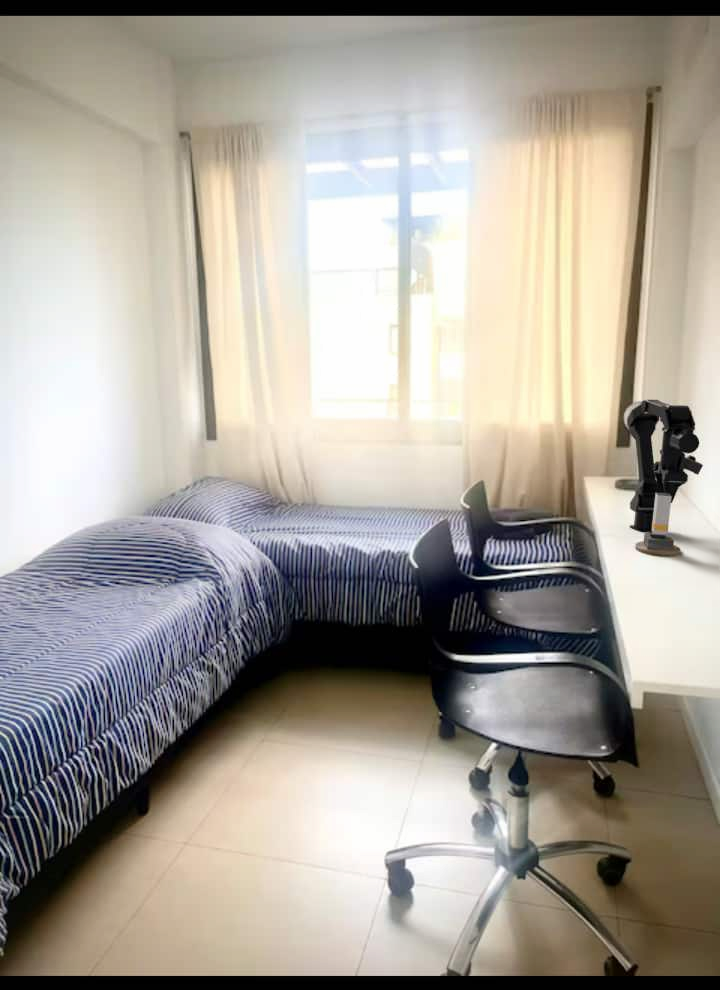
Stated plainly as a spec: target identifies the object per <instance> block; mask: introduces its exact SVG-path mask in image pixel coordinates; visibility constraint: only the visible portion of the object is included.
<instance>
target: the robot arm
mask: <svg viewBox="0 0 720 990" xmlns="http://www.w3.org/2000/svg"><path fill="white" fill-rule="evenodd" d="M658 422H661V423H662V425H663V427H662V428H661V430H662V431H663V433H662V442H661V443H662V445H661V449H659V454H660V461H659V460H657V461H655V462H654V451H653V450H654V449H653V442H652V441H653V440H652V436H653V434H654V433H655V431H656V429H657V428H656V427H657V424H658ZM626 425H627V427H628V432H629V435H630V436H631V437H632V438H633V440H634V441H635V449H636V457H637V458H636V459H637V460H636V461H637V468H638V477H639V478H638V479H639V483H638V484H637V487H636V489H634V490H635V491H634V496H633V497H632V499H631V501H630V502H629V510H631V511H633V512H634V513H635V514H634V521H633V522H634V523H633V524H630V525H629V528H631V529H633V530H636V531H638V532H640V533H641V532H642V533H649V532H652V521H653V513H654V503H655V494H656V493H669V494H670V495H671V496H672V497H671V504H673V501H674V500H675V497H676V494H677V492H678V490H679V488H680V487H682V486H683V485H685V484H686V483H688V478H689V475H688V474H687V472H686V471H689V472H691V473H693V474H695V475H699V474H700V473H701V470H702V469H703V466H704V465H703V464H702V463H700V462H699V461H697V459H696V457H695V456H693V455H690V454H692V453H695V452H696V451H697V449H698V448H699V445H700V439H699V437H698V436H697V435H696V434H695V433H694V431H695V430H696V427H695V426H696V422H695V419H694V417H693V413H692V410H691V409H690V406H689V405H686V404H685V405H675V404H674V405H672V404H668V403H664V401H661V400H658V399H644V400H642V401H641V402H640V404H639V405H637V406H636V407H634V408H633V409H632V410H631V411H630V413H629V414H628V416H627V419H626ZM686 454H689V455H688V456H687V457H686Z"/></svg>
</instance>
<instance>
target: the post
mask: <svg viewBox="0 0 720 990" xmlns="http://www.w3.org/2000/svg"><path fill="white" fill-rule="evenodd" d="M671 497H672V496H671V495H670V494H669V493H656V494H655V503H654V513H653V521H652V531H651V533H652V534H665V535H667V534H668V531H669V522H670V513H671V505H672V503H671Z"/></svg>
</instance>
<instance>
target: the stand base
mask: <svg viewBox="0 0 720 990" xmlns="http://www.w3.org/2000/svg"><path fill="white" fill-rule="evenodd" d="M643 534H644V535H643V541H638V542H636V543H635V550H636V551H638V552H640V553H643V554H646V555H650V556H657V557H675V556H679V555H680V553H681V547H679V546H678V545H675V541H674V539H673V537H672V536H671V534H668V533H667V535H665V534H654V533H653V532H643Z"/></svg>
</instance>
